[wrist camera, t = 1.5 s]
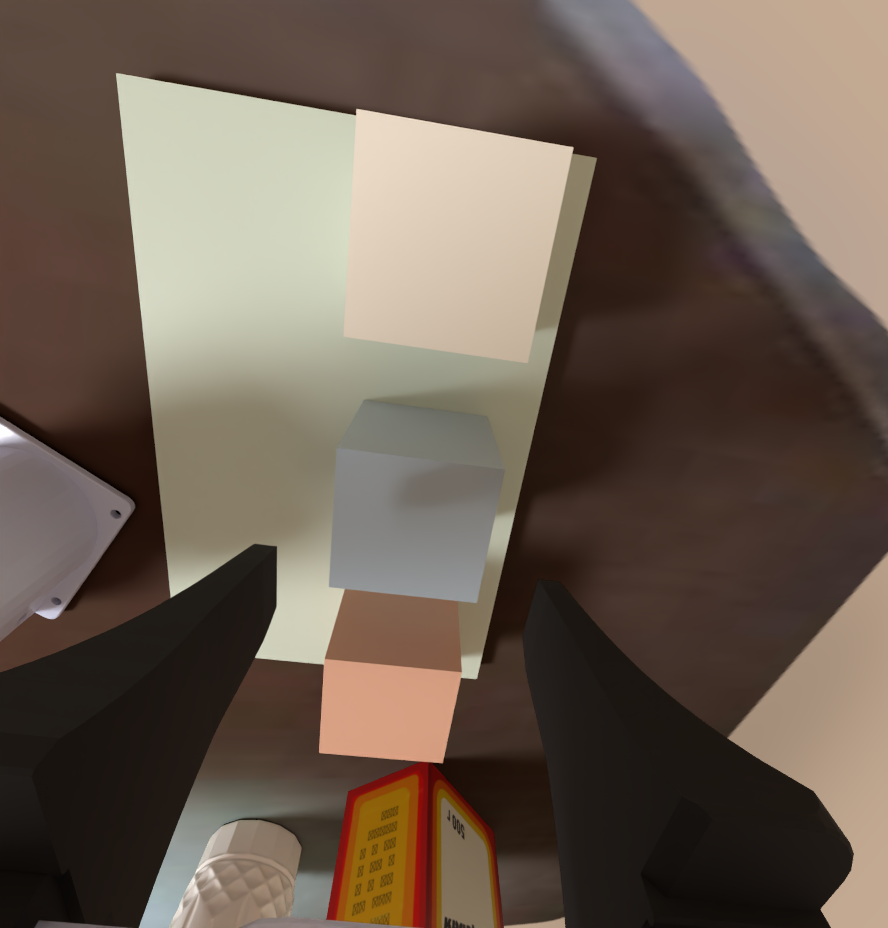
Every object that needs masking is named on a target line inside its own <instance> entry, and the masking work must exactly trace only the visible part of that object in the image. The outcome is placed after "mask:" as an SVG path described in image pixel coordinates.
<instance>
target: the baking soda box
mask: <svg viewBox="0 0 888 928" xmlns="http://www.w3.org/2000/svg"><path fill="white" fill-rule="evenodd" d="M326 920H334V921H346V922H358V923H369V924H381V925H393V926H405V927H416V928H504V925H503V915H502V905H501V895H500V886H499V876H498V866H497V856H496V846H495V836H494V832H493V831H492V829H491V828H490V827H489V826H488V825H487V824H486V823H485V822H484V821H483V819H482V818H481V817H480V816H479V815H478V814H477V813H476V812H475V810H474V809H473V808H472V807H471V806H470V805H469V804H468V803H467V801H466V800H465V799H464V798H463V797H462V796H461V795H460V794H459V793H458V791H457V790H456V789H455V788H454V787H453V786H452V785H451V784H450V782H449V781H448V780H447V779H446V778H445V777H444V776H443V775H442V773H441V772H440V771H439V770H438V769H437V768H436V767H435V766H434V765H433V763H432V762H420V763H417V764H415V765H412V766H410V767H407V768H405V769H402V770H400V771H397V772H395V773H393V774H390V775H388V776H385V777H383V778H380V779H378V780H375V781H373V782H371V783H368V784H366V785H363V786H361V787H358V788H356V789H353V790H351V791H348V796H347V802H346V808H345V814H344V820H343V825H342V831H341V837H340V843H339V849H338V855H337V861H336V866H335V872H334V878H333V884H332V890H331V896H330V902H329V907H328V913H327V919H326Z"/></svg>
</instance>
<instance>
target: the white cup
mask: <svg viewBox="0 0 888 928" xmlns="http://www.w3.org/2000/svg"><path fill="white" fill-rule="evenodd" d="M301 849H302V847H301V845H300V844H299V842H298V840H297V838H296V836H295V835H294V834H292V833H291V832H289V831H288V830H286V829H285V828H283V827H282V826H280V825H277V824H274V823H271V822H266V821H262V820H238V821H235V822H232V823H229V824H226V825H223V826H221V827H220V828H219V829H218V830H217V831H216V832H215V833H214V834H213V835H212V836H211V838H210V840H209V842H208V845H207V847H206V849H205V851H204V854H203V856H202V858H201V861H200V863H199V865H198V868H197V870H196V873H195V875H194V877H193V878H192V880H191V882H190V884H189V885H188V887H187V889H186V891H185V893H184V895H183V898H182V900H181V903H180V905H179V908H178V910H177V912H176V914H175V916H174V918H173V919H172V921H171V923H170V926H169V928H239V927H242V926H244V925H246V924H248V923H251V922H253V921H255V920H257V919H262V918H280V917H291V910H292V906H293V902H294V888H295V880H296V875H297V870H298V865H299V860H300V855H301Z"/></svg>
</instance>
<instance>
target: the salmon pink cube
mask: <svg viewBox="0 0 888 928" xmlns="http://www.w3.org/2000/svg"><path fill="white" fill-rule="evenodd" d="M461 674H462V665H461V649H460V632H459V616H458V601H453V600H444V599H434V598H425V597H416V596H406V595H397V594H388V593H379V592H369V591H360V590H351V589H345V590H344V594H343V597H342V601H341V604H340V607H339V611H338V614H337V618H336V621H335V625H334V628H333V631H332V635H331V638H330V642H329V645H328V649H327V652H326V656H325V659H324V676H323V694H322V711H321V728H320V745H319V753H327V754H339V755H351V756H362V757H374V758H386V759H398V760H410V761H422V762H434V763H443V759H444V755H445V750H446V745H447V740H448V736H449V731H450V726H451V722H452V717H453V712H454V707H455V703H456V698H457V693H458V689H459V684H460V679H461Z"/></svg>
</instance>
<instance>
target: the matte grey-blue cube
mask: <svg viewBox="0 0 888 928" xmlns="http://www.w3.org/2000/svg"><path fill="white" fill-rule="evenodd" d="M504 472H505V468H504V465H503V462H502V459H501V456H500V453H499V450H498V447H497V444H496V441H495V438H494V435H493V432H492V429H491V426H490V423H489V420H488V418H487V416H482V415H475V414H468V413H460V412H453V411H445V410H438V409H431V408H423V407H416V406H408V405H401V404H394V403H386V402H379V401H372V400H364V401H363V403H362V404H361V406H360V408H359V410H358V411H357V413H356V415H355V417H354V418H353V420H352V422H351V424H350V425H349V427H348V429H347V431H346V433H345V434H344V436H343V438H342V440H341V441H340V443H339V445H338V447H337V453H336V470H335V488H334V505H333V522H332V539H331V557H330V574H329V587H332V588H341V589H351V590H360V591H369V592H379V593H388V594H397V595H406V596H416V597H425V598H434V599H444V600H453V601H462V602H471V603H477V599H478V595H479V590H480V585H481V581H482V576H483V571H484V567H485V562H486V557H487V552H488V548H489V543H490V538H491V534H492V529H493V524H494V519H495V515H496V510H497V505H498V501H499V496H500V491H501V487H502V482H503V477H504Z"/></svg>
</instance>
